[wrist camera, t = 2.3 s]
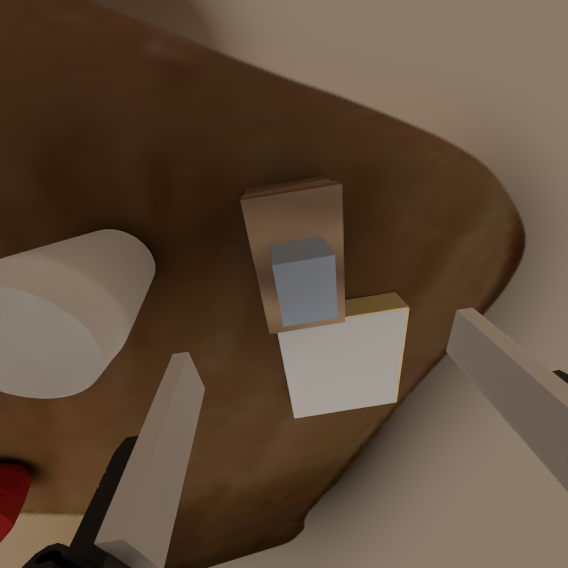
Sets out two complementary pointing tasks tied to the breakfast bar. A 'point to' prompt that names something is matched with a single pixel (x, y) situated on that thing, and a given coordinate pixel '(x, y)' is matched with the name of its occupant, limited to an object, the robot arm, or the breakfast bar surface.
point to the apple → (12, 494)
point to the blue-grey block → (305, 280)
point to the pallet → (293, 234)
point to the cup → (69, 311)
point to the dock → (347, 358)
